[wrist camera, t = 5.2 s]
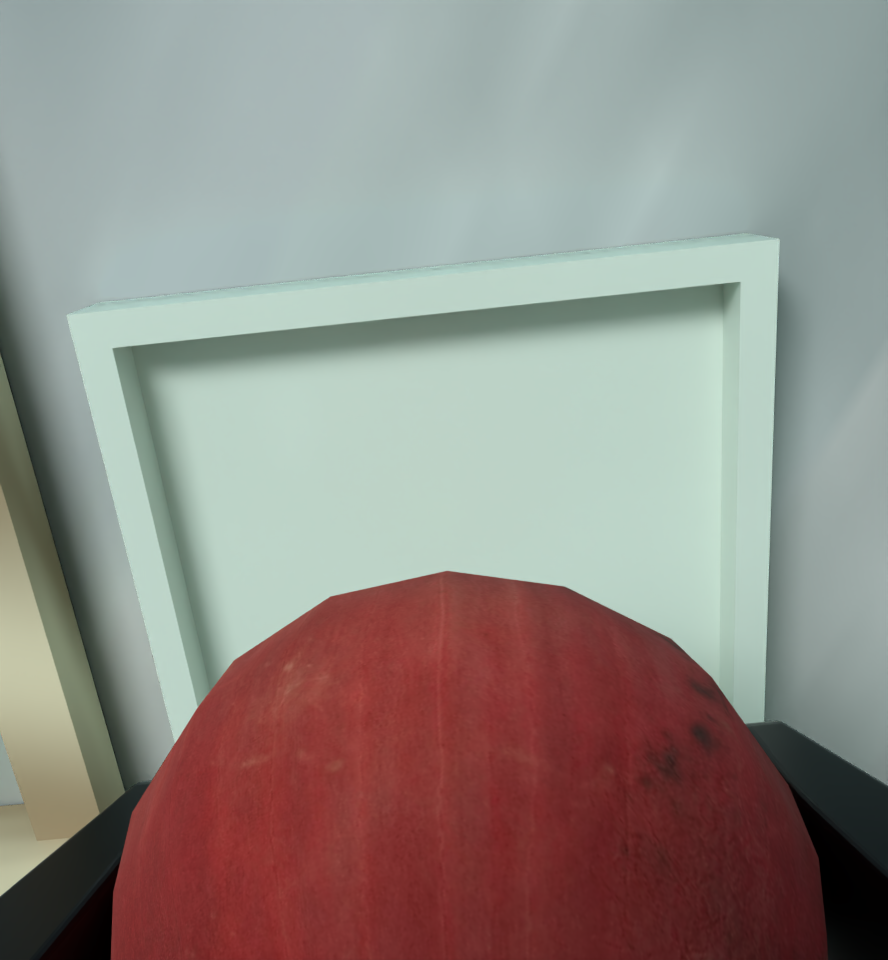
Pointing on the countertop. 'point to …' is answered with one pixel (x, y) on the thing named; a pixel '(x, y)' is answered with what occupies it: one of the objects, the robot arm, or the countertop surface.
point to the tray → (448, 445)
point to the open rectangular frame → (42, 677)
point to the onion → (467, 796)
